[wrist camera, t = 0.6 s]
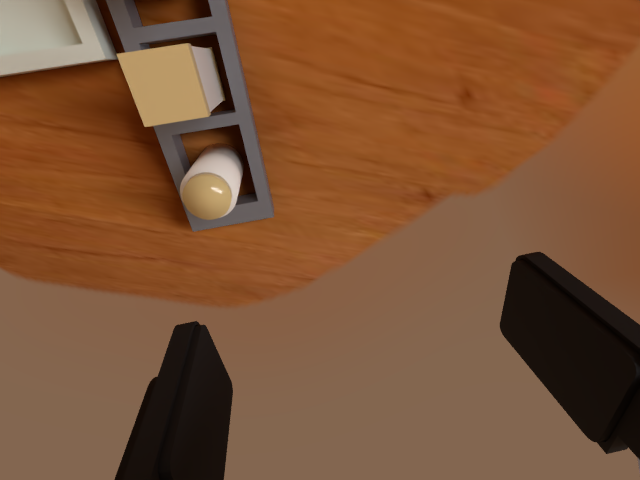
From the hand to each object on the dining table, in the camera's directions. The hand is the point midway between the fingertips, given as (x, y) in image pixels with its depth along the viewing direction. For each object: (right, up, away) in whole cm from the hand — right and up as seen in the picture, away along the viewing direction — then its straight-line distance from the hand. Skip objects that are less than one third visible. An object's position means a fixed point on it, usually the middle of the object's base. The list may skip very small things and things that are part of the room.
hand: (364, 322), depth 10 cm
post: (-11, +10, +23) cm, 28 cm away
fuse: (-12, +17, +19) cm, 28 cm away
